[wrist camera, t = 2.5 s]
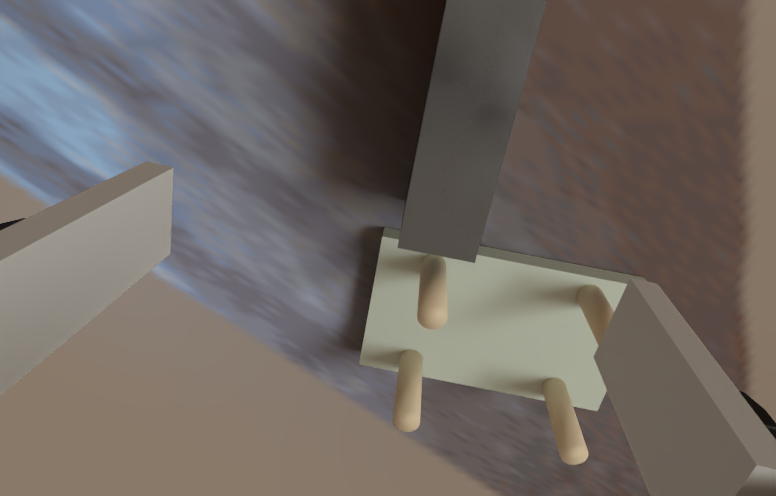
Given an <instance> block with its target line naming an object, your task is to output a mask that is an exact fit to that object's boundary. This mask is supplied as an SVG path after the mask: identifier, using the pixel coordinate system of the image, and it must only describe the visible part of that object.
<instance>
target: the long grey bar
mask: <svg viewBox="0 0 776 496" xmlns="http://www.w3.org/2000/svg"><path fill="white" fill-rule="evenodd" d="M546 2H547V0H445V5H444V10H443V15H442V20H441V25H440V30H439V35H438V40H437V45H436V50H435V55H434V60H433V65H432V70H431V75H430V80H429V85H428V91H427V96H426V101H425V106H424V111H423V116H422V121H421V126H420V131H419V136H418V141H417V146H416V151H415V156H414V161H413V166H412V171H411V176H410V181H409V186H408V191H407V196H406V202H405V207H404V213H403V219H402V224H401V230H400V236H399V242H398V247H397V248H400V249H406V250H411V251H416V252H421V253H426V254H431V255H436V256H442V257H447V258H452V259H457V260H462V261H467V262H472V263H475V260H476V257H477V253H478V249H479V246H480V242H481V239H482V235H483V231H484V228H485V224H486V220H487V217H488V213H489V209H490V206H491V202H492V198H493V195H494V191H495V188H496V184H497V180H498V177H499V173H500V169H501V166H502V162H503V158H504V155H505V151H506V147H507V144H508V140H509V137H510V133H511V129H512V126H513V122H514V118H515V115H516V111H517V107H518V104H519V100H520V97H521V93H522V89H523V86H524V82H525V78H526V75H527V71H528V67H529V64H530V60H531V56H532V53H533V49H534V46H535V42H536V38H537V35H538V31H539V27H540V24H541V20H542V16H543V13H544V9H545V5H546Z"/></svg>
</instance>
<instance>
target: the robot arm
mask: <svg viewBox="0 0 776 496" xmlns="http://www.w3.org/2000/svg"><path fill="white" fill-rule="evenodd" d="M172 190H173V167H169V166H165V165H160V164H156V163H152V162H148V161H147V162H145V163H142V164H140V165H138V166H136V167H134V168H132V169H130V170H128V171H125V172H123V173H121V174H119V175H117V176H115V177H113V178H111V179H109V180H106V181H104V182H102V183H100V184H98V185H96V186H94V187H92V188H89V189H87V190H85V191H83V192H81V193H79V194H77V195H75V196H73V197H70V198H68V199H66V200H64V201H62V202H60V203H58V204H56V205H54V206H51V207H49V208H47V209H45V210H43V211H41V212H39V213H37V214H34V215H32V216H30V217H28V218H23V219H19V220H15V221H10V222H6V223H2V224H0V396H1V395H2V394H3V393H4V392H6V391H7V390H8V389H9V388H11V387H12V386H13V385H14V384H15V383H16V382H18V381H19V380H20V379H21V378H22V377H24V376H25V375H26V374H27V373H28V372H29V371H31V370H32V369H33V368H34V367H36V366H37V365H38V364H39V363H40V362H42V361H43V360H44V359H45V358H46V357H47V356H49V355H50V354H51V353H52V352H54V351H55V350H56V349H57V348H58V347H59V346H61V345H62V344H63V343H64V342H65V341H67V340H68V339H69V338H70V337H71V336H73V335H74V334H75V333H76V332H77V331H79V330H80V329H81V328H82V327H83V326H84V325H86V324H87V323H88V322H89V321H90V320H92V319H93V318H94V317H95V316H96V315H98V314H99V313H100V312H101V311H102V310H104V309H105V308H106V307H107V306H108V305H110V304H111V303H112V302H113V301H114V300H115V299H117V298H118V297H119V296H120V295H122V294H123V293H124V292H125V291H126V290H128V289H129V288H130V287H131V286H132V285H133V284H135V283H136V282H137V281H138V280H140V279H141V278H142V277H143V276H144V275H145V274H147V273H148V272H149V271H150V270H151V269H153V268H154V267H155V266H156V265H157V264H159V263H160V262H161V261H162V260H163V259H165V258H166V257H167V256H168V255H169V254H170V247H171V219H172ZM594 360H595V362H596V365H597V367H598V369H599V372H600V374H601V377H602V379H603V382H604V384H605V387H606V389H607V391H608V394H609V396H610V399H611V401H612V404H613V406H614V408H615V411H616V413H617V416H618V418H619V421H620V423H621V426H622V428H623V430H624V433H625V435H626V438H627V440H628V443H629V445H630V448H631V450H632V452H633V455H634V457H635V460H636V462H637V465H638V467H639V469H640V472H641V474H642V477H643V479H644V482H645V484H646V487H647V489H648V491H649V494H650V496H776V423H775V422H774V420H773V419H772V418H771V417H770V415H769V414H768V413H767V412H766V410H764V409H763V408H762V407H761V406H760V405H759V404H757V403H756V402H755V401H754V400H753V399H751V398H750V397H749V396H748V395H747V394H745V393H744V392H741V391H738V389H737V388H736V387H735V385H734V384H733V383H732V382H731V380H730V379H729V378H728V376H727V375H726V374H725V372H724V371H723V370H722V368H721V367H720V366H719V364H718V363H717V362H716V360H715V359H714V358H713V357H712V355H711V354H710V353H709V351H708V350H707V349H706V347H705V346H704V345H703V343H702V342H701V341H700V339H699V338H698V337H697V335H696V334H695V333H694V332H693V330H692V329H691V328H690V326H689V325H688V324H687V322H686V321H685V320H684V318H683V317H682V316H681V314H680V313H679V312H678V311H677V309H676V308H675V307H674V305H673V304H672V303H671V301H670V300H669V299H668V297H667V296H666V295H665V293H664V292H663V291H662V289H661V288H660V287H659V286H658V284H655V283H650V282H646V281H642V280H638V279H634V278H630V279H629V282H628V284H627V286H626V288H625V290H624V292H623V295H622V297H621V299H620V301H619V303H618V305H617V307H616V310H615V312H614V314H613V316H612V318H611V320H610V322H609V325H608V327H607V329H606V331H605V333H604V335H603V337H602V340H601V342H600V344H599V346H598V348H597V350H596V352H595V355H594Z"/></svg>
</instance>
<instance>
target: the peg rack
mask: <svg viewBox="0 0 776 496" xmlns="http://www.w3.org/2000/svg"><path fill="white" fill-rule="evenodd" d="M399 236H400V230H397V229H392V228H387V227H385V228H384V232H383V236H382V241H381V246H380V252H379V257H378V263H377V268H376V274H375V279H374V285H373V290H372V296H371V301H370V306H369V312H368V317H367V323H366V328H365V334H364V339H363V345H362V350H361V356H360V361H359V364H361V365H366V366H371V367H376V368H381V369H386V370H391V371H396V372H398V378H397V387H396V396H395V405H394V414H393V424H394V426H395V427H396V428H397V429H398V430H400V431H404V432H411V431H414V430H416V429H417V428H418V427H419V425H420V412H421V390H422V377H427V378H432V379H437V380H442V381H447V382H452V383H457V384H462V385H467V386H472V387H477V388H483V389H488V390H493V391H498V392H503V393H508V394H513V395H518V396H523V397H528V398H533V399H538V400H544V401H545V402H546V406H547V409H548V413H549V417H550V421H551V424H552V428H553V432H554V435H555V439H556V443H557V447H558V450H559V454H560V458H561V460H562V461H563V462H565V463H567V464H571V465H576V464H580V463H582V462H584V461H585V460H586V459H587V457H588V450H587V447H586V444H585V441H584V438H583V435H582V432H581V429H580V426H579V423H578V420H577V417H576V414H575V411H574V408H573V406H574V407H579V408H584V409H589V410H594V411H598V409H599V406H600V404H601V402H602V400H603V398H604V395H605V393H606V391H607V389H606V387H605V384H604V382H603V379H602V377H601V374H600V372H599V369H598V367H597V365H596V362H595V360H594V355H595V352H596V350H597V348H598V346H599V344H600V342H601V340H602V337H603V335H604V333H605V331H606V329H607V327H608V325H609V322H610V320H611V318H612V316H613V314H614V312H615V310H616V307H617V305H618V303H619V301H620V299H621V297H622V295H623V292H624V290H625V288H626V286H627V284H628V282H629V279H630V278H634V279H638V280H642V281H646V280H645V278H644V277H639V276H633V275H628V274H623V273H618V272H613V271H608V270H603V269H597V268H592V267H587V266H582V265H577V264H572V263H567V262H561V261H556V260H551V259H546V258H541V257H536V256H531V255H525V254H520V253H515V252H510V251H505V250H500V249H495V248H489V247H484V246H479V249H478V253H477V257H476V260H475V263H472V262H467V261H462V260H457V259H452V258H447V257H442V256H436V255H431V254H426V253H421V252H416V251H411V250H406V249H400V248H397V247H398V242H399ZM646 282H647V281H646Z"/></svg>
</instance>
